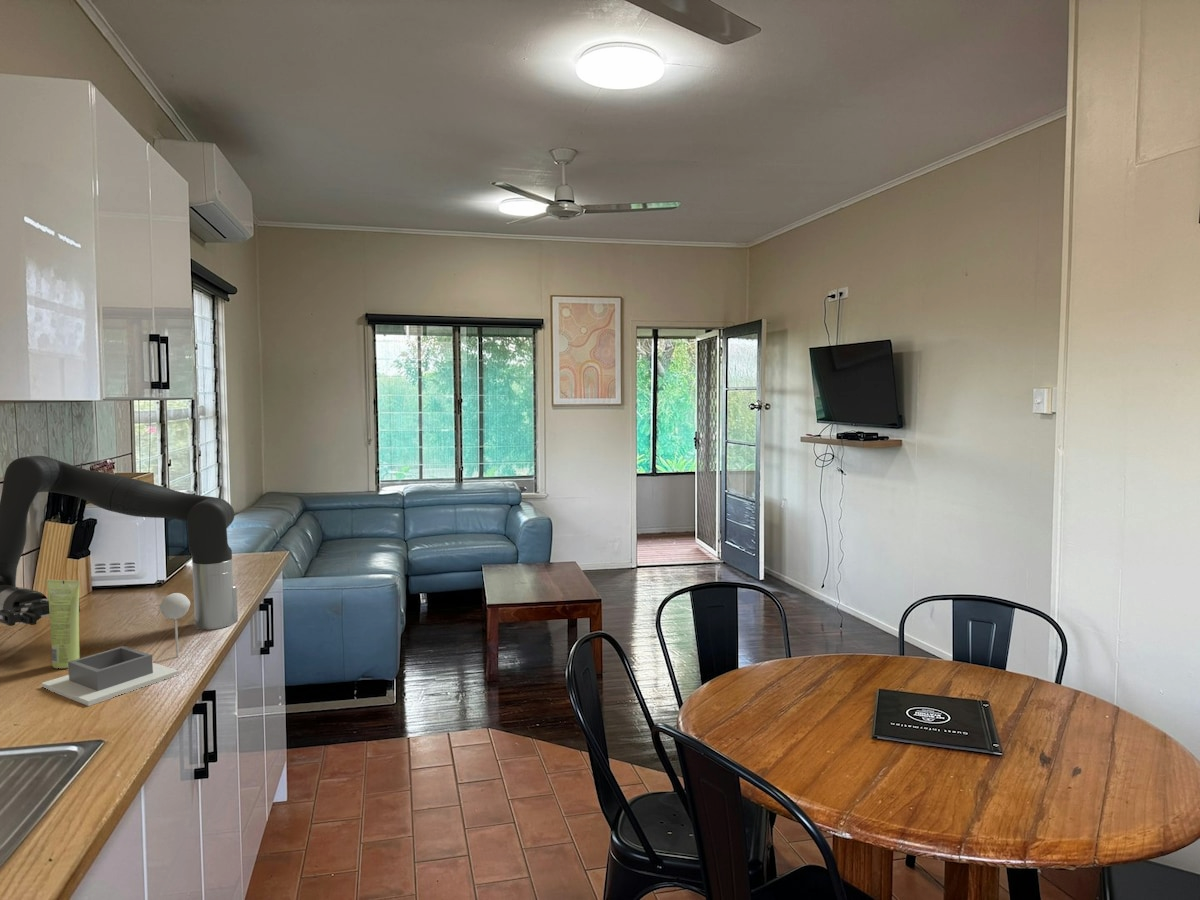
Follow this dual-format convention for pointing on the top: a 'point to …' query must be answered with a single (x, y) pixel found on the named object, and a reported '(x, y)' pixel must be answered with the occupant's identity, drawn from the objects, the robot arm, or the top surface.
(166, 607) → the lollipop
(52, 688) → the socket
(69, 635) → the tube
